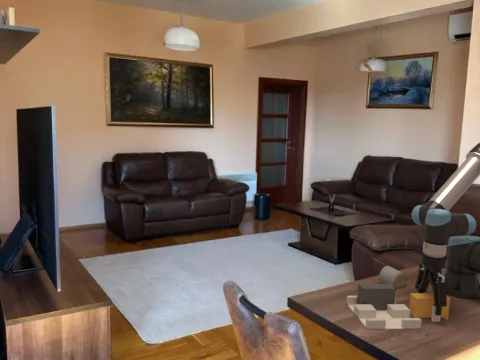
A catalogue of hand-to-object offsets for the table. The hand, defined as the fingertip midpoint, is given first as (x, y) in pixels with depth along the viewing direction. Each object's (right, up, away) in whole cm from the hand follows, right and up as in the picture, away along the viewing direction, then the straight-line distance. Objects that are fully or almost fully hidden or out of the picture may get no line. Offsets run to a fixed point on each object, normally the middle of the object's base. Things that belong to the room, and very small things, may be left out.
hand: (427, 316), depth 153 cm
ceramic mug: (-2, +4, +29) cm, 30 cm away
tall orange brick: (0, 0, 0) cm, 0 cm away
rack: (-17, 0, -2) cm, 17 cm away
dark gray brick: (-17, +2, +4) cm, 18 cm away
